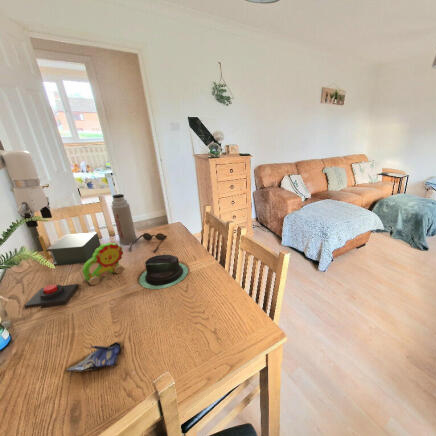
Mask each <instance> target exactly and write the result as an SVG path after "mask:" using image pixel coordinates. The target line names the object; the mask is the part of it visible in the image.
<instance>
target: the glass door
mask: <svg viewBox="0 0 436 436" xmlns="http://www.w3.org/2000/svg"><path fill="white" fill-rule="evenodd" d="M37 238H38V240H39V243H40V246H41V248H42V251H43V254H44V256H45V258H46V260H51V259H52V261H53V263H55V262H56V260H55V257H54V254H53V252H52V251H46V249H47V248H48V247H47V245H46V242H45V240H44V237H43V235H38V236H37Z"/></svg>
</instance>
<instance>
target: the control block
mask: <svg viewBox="0 0 436 436" xmlns="http://www.w3.org/2000/svg"><path fill="white" fill-rule="evenodd" d="M55 285H56V286H57V288H58V290H57V291H55V292H53V293H50V294H45V292H44V290H43V289H44V288H45V287H41V288H40V289H39V290H38V291H37V292H36V293H35V294H34V295H32V297H31V298H30V299H29V300H28V301H26V303H24V305H23V306H24V309H29V308H37V307H40V309H43V308H51V307H58V306H65V305H66V306H67V305H68V303H69V302H70V301H71V299H72V298H73V297H74V295H75V294H76V293H77V292H78V290H79V289H80V287H79V284H78V283H73V284H65V285H61V284H55Z"/></svg>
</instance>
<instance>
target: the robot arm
mask: <svg viewBox="0 0 436 436" xmlns="http://www.w3.org/2000/svg"><path fill="white" fill-rule="evenodd" d="M4 169H6V170H7V172H8V174H9V177H10V180H11V183H12V185H13V194H14V198H15V203H16V206H17V208H18V209H17V213H18V214H19V215H20V217H22V219H24V220H25V219H26V218H30V217H35V213H36V212H38V211H39V212H40V215H41V218H42V219H52V218H53V214H52V211H51V207H50V199H49V197H48V196H47V195H46V193H45V191H44V189H43V186H42V182H41V179H40V177H39V174H38V171H37V168H36V164H35V162H34V159H33V156H32V154H31V152H29V151H27V150H4V149H0V171H1V170H4ZM25 223H26V224H25V225H26V227H27V228H37V227H39V224H38V221H37V220H36V221H28V222H26V221H25Z"/></svg>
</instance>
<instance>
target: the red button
mask: <svg viewBox="0 0 436 436" xmlns="http://www.w3.org/2000/svg"><path fill="white" fill-rule="evenodd" d="M56 285H57V284H49V285H46V286H45V287H43V288H44V289H43V290H44V292H45V294H50V293H53V292H55V291H57V290H58V288H57V286H56Z"/></svg>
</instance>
